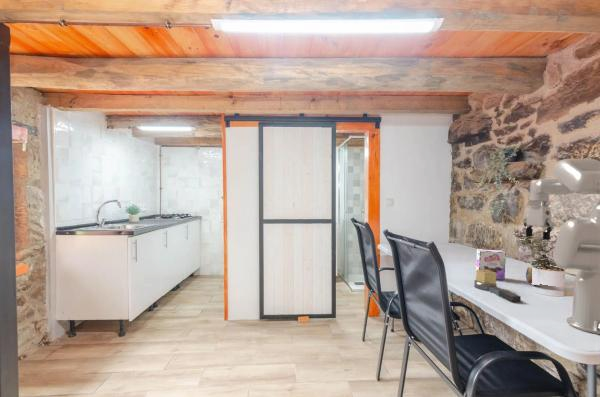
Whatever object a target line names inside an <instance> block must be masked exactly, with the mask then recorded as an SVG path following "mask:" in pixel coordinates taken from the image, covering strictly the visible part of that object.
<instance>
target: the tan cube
mask: <svg viewBox="0 0 600 397" xmlns="http://www.w3.org/2000/svg"><path fill="white" fill-rule="evenodd" d="M475 272H476V275H475V280H476V281H478V282H480V283H482V284H497V279H496V273H495V272H493V271H490V270H488V269H480V270H476V269H475Z"/></svg>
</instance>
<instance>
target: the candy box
mask: <svg viewBox="0 0 600 397" xmlns="http://www.w3.org/2000/svg"><path fill="white" fill-rule="evenodd" d="M506 256H507V252H505V251H504V250H501V249H500V250H499V249H498V250H497V249H482V248H476V257H475V258H476V259H475V274H474V275H475V276H476V270H480V269H488V270H490V271H493V272H495V273H496V280H500V281H505V279H506V277H505V276H506V258H507V257H506Z"/></svg>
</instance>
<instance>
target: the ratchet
mask: <svg viewBox="0 0 600 397" xmlns="http://www.w3.org/2000/svg"><path fill="white" fill-rule="evenodd" d="M474 288H476V289H477V290H481V291H486V292H489V291H490V292H489V293H492V294H493V293H494V295H495V294H496V296H498V297H500V298H502V299H504V300H505V299H506V301H508V302H510V303H521V298H522V297H521V296H520V295H519V294H516V293H514V292H512V291H510V290H506V289H503V288H500V287H499V286H498V285H497V283H496V284H482V283H480V282H478V281H476V279H474Z"/></svg>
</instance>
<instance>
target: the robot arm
mask: <svg viewBox="0 0 600 397" xmlns="http://www.w3.org/2000/svg"><path fill="white" fill-rule="evenodd" d="M553 173H554V174H553V175H554V177H555V178H539V179H532V180H531V181H530V192H529V206H528V209H527V213H526V218H523V219H522V223H523V225H524V226H523V227H524V229H525V237H530V238H531V237H533V232H534V231H533V227H537V228H542V230H543V231H542V240H544V241H549V240H550V239H551V232H552V231H553V230H554V228H555V226H556V223H555V222H554V221H553V219H552V209H551V207H550V205H551V203H550V195H551V196H552V195H555V196H556V195H560V196H566V195H570V194H573V193H575V194H577V195H600V161H599V160H597V159H593V158H563V159H561V160H559V161H558V162H557V163H556V164H555V165H554V169H553ZM552 255H553V256H552V257H553V262H554V264H555V265H557V266H558V267H559V268H561V269H565V270H579V272H578V273H577V274H576V275H575V277H574V281H573V282H574V283H573V297H572V315H571V316H570V317H567V318H566V323H567V324H568V325H569V326H571V327H573V328H576V329H577V330H580V331H584V332H587V333H592V334H595V335H600V200H599V201H598V202H597V203H596V204H595V205H594V206H593V208H592V212H591V214H590V216H589V218H585V219H584V218H573V219H568V220H566V221H564V223H562V225H561V227H560V229H559V232H558V236H557V239H556V243H555V246H554V248H553V254H552Z"/></svg>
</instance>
